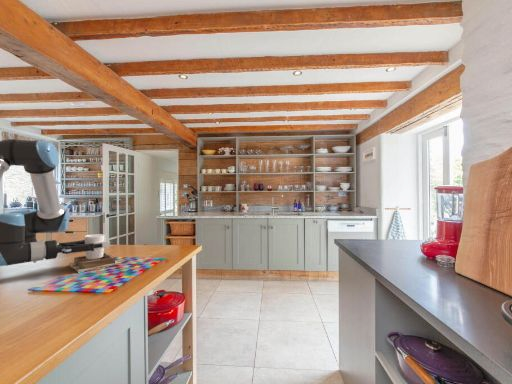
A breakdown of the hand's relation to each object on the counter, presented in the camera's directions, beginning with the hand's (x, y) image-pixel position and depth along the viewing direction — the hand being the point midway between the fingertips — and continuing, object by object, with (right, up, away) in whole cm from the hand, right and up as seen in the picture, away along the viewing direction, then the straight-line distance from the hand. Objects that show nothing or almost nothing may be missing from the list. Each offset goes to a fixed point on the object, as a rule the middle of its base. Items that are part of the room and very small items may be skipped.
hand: (106, 242), depth 121 cm
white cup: (-3, -6, -4) cm, 8 cm away
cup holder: (-4, -10, -3) cm, 11 cm away
